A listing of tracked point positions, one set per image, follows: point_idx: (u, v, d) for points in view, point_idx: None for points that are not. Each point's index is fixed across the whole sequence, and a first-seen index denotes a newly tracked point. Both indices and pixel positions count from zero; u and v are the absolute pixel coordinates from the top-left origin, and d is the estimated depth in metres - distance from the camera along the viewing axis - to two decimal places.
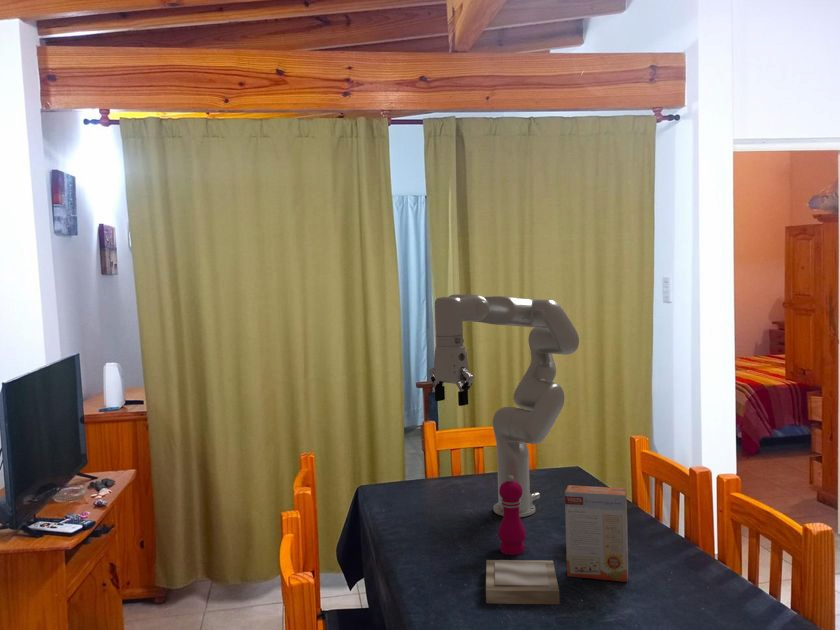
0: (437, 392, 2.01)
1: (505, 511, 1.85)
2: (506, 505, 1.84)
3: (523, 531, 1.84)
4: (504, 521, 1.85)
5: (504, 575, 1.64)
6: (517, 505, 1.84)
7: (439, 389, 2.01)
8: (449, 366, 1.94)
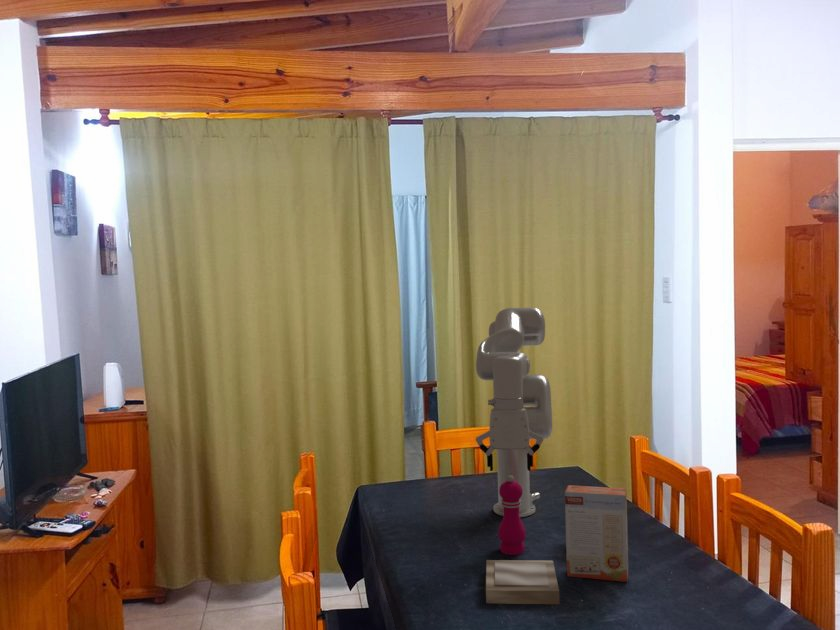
0: None
1: (505, 511, 1.85)
2: (506, 505, 1.84)
3: (523, 531, 1.84)
4: (504, 521, 1.85)
5: (504, 575, 1.64)
6: (517, 505, 1.84)
7: None
8: None
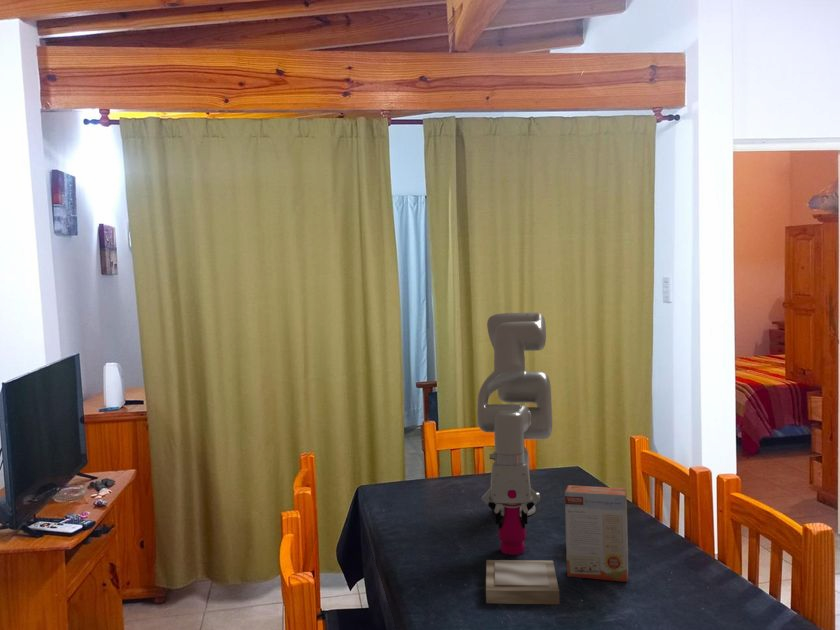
0: None
1: (506, 511, 1.85)
2: (507, 505, 1.84)
3: (523, 531, 1.84)
4: (505, 521, 1.85)
5: (504, 575, 1.64)
6: (518, 505, 1.84)
7: (521, 513, 1.86)
8: None
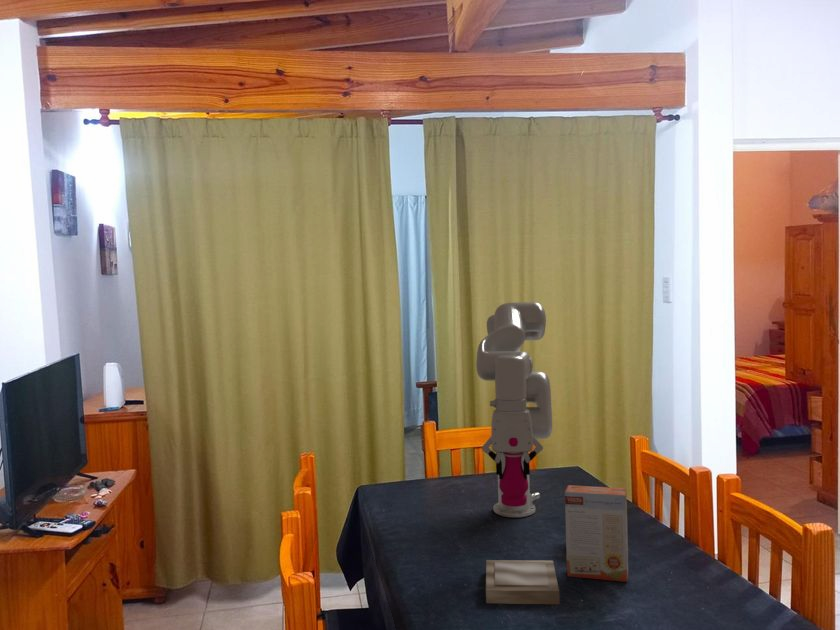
0: None
1: (507, 461, 1.76)
2: (508, 454, 1.75)
3: (525, 482, 1.75)
4: (506, 471, 1.76)
5: (504, 575, 1.64)
6: (520, 454, 1.75)
7: (523, 463, 1.77)
8: None
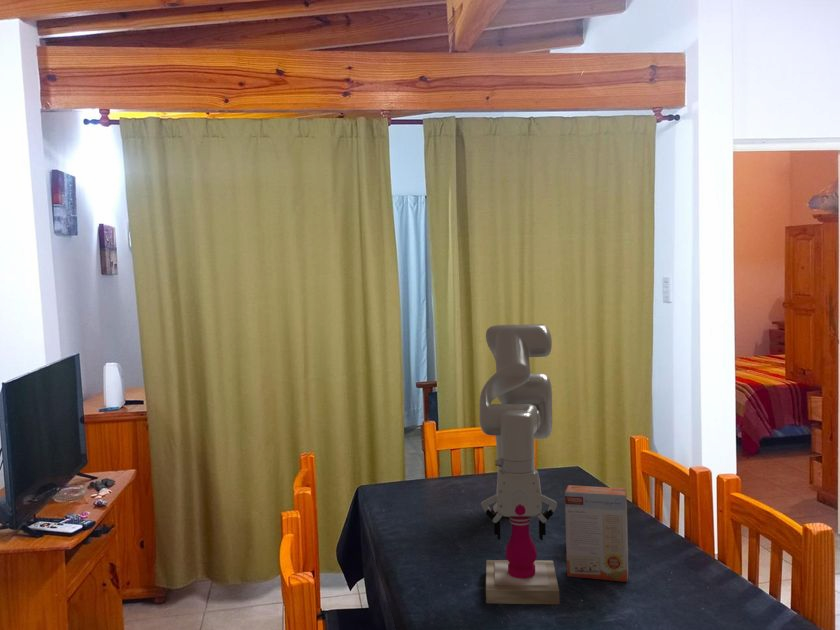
0: None
1: (513, 529, 1.63)
2: (514, 522, 1.62)
3: (534, 551, 1.63)
4: (512, 540, 1.63)
5: (504, 575, 1.64)
6: (527, 522, 1.62)
7: None
8: None
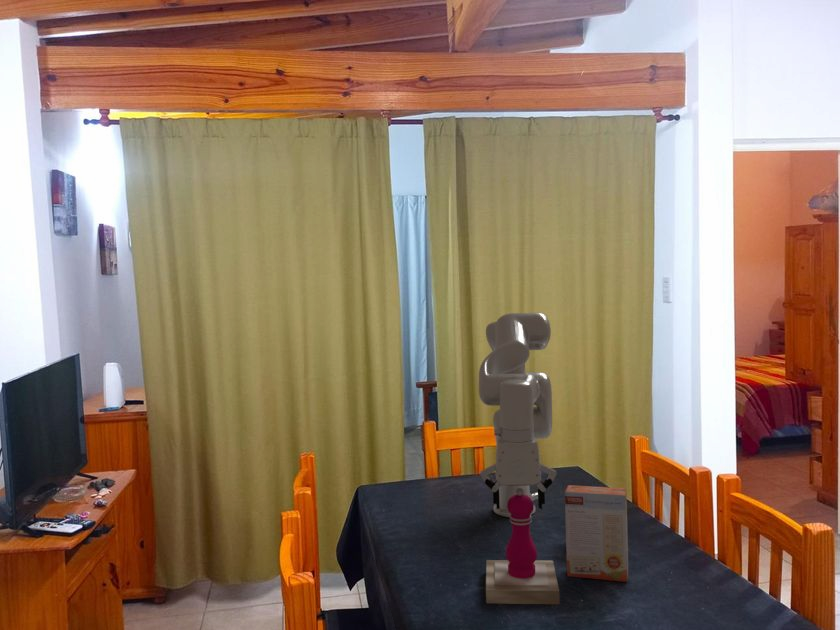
0: None
1: (514, 528, 1.63)
2: (515, 522, 1.63)
3: (534, 551, 1.63)
4: (513, 540, 1.63)
5: (504, 575, 1.64)
6: (527, 522, 1.62)
7: None
8: None
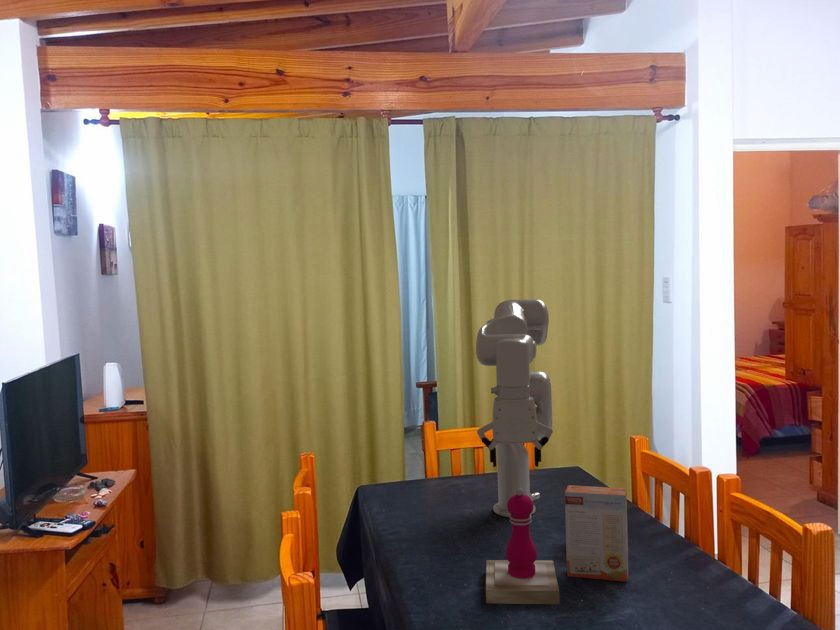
0: None
1: (514, 529, 1.63)
2: (515, 522, 1.63)
3: (534, 551, 1.63)
4: (512, 540, 1.63)
5: (504, 575, 1.64)
6: (527, 522, 1.62)
7: (534, 450, 1.65)
8: None
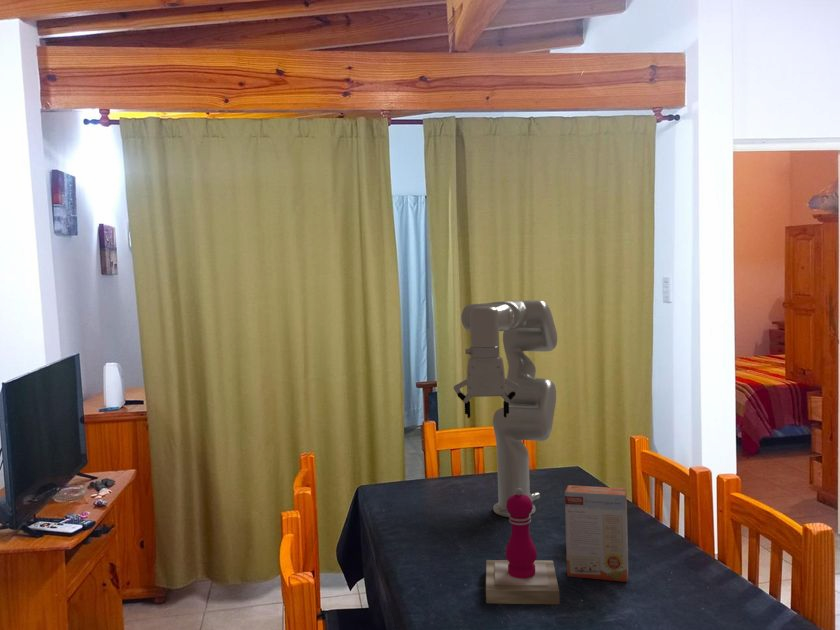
0: None
1: (513, 528, 1.64)
2: (514, 522, 1.63)
3: (534, 551, 1.63)
4: (512, 540, 1.64)
5: (504, 575, 1.64)
6: (527, 522, 1.63)
7: (503, 403, 1.90)
8: None
